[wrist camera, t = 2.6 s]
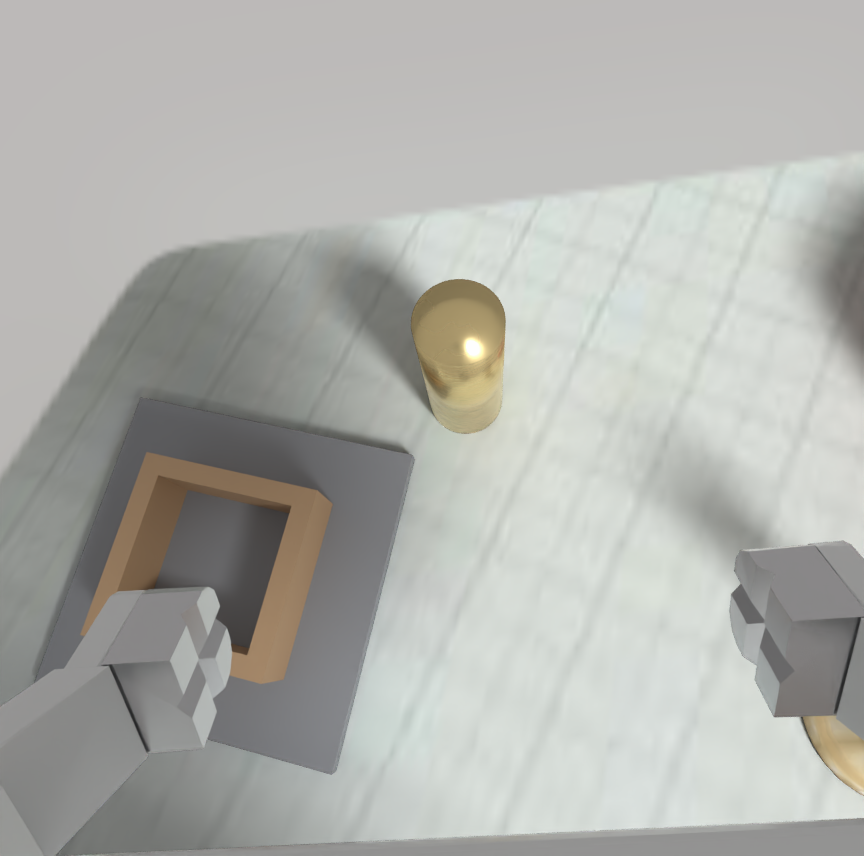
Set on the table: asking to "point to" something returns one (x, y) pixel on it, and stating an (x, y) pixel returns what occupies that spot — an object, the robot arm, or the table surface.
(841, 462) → the table surface
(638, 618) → the table surface
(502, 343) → the brass tube
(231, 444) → the plate
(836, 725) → the hand bell
